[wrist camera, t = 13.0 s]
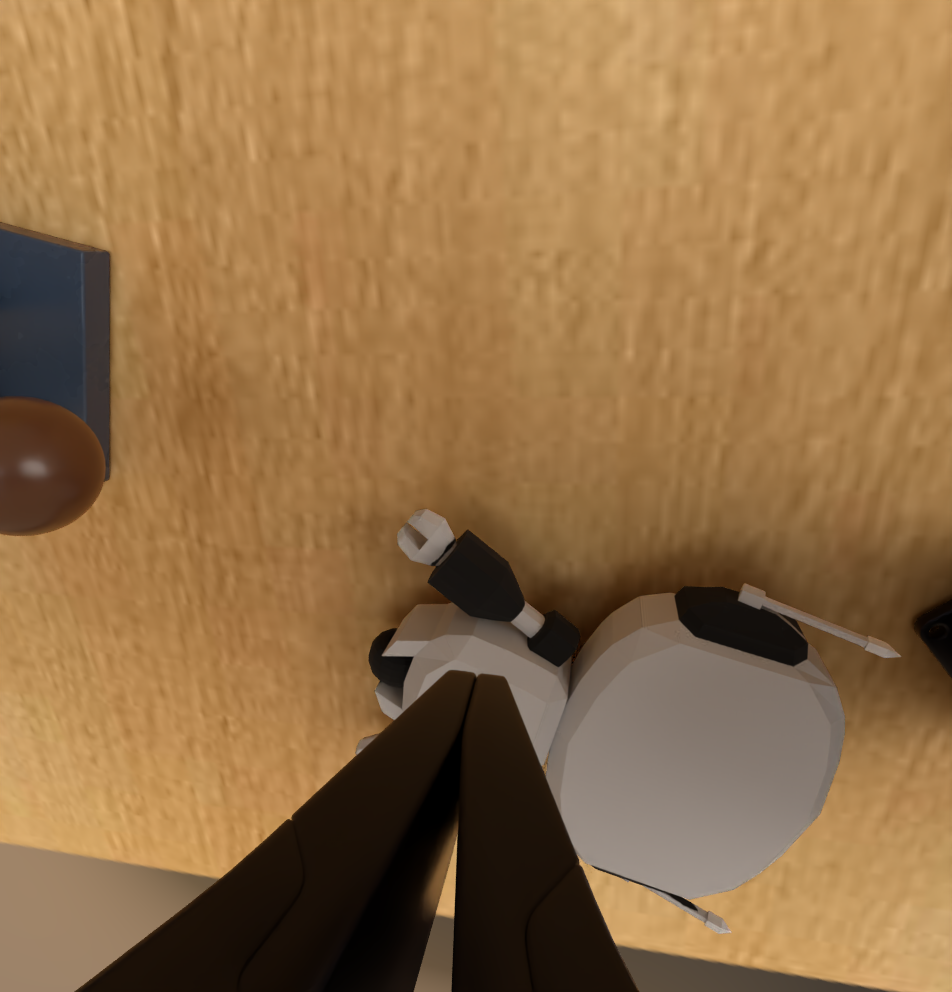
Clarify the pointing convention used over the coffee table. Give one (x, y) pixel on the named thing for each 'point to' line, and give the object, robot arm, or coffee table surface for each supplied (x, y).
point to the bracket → (56, 325)
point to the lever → (45, 466)
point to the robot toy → (641, 713)
